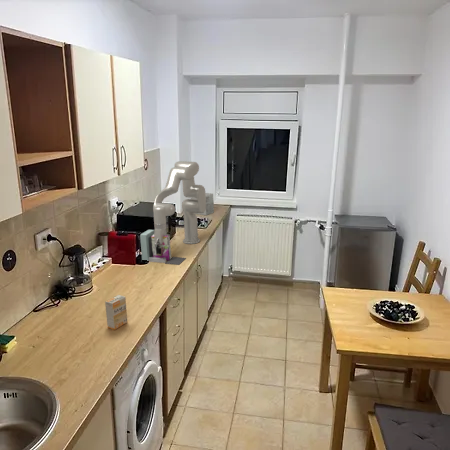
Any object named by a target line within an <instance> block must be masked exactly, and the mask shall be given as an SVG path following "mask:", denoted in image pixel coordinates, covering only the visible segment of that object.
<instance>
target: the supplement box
mask: <svg viewBox="0 0 450 450" xmlns="http://www.w3.org/2000/svg"><path fill="white" fill-rule="evenodd" d="M126 299H127V298H126V296H125V295H120V294H117V295H115V296H113V297H111V298H109V299H107V300H105V301H104V305H105V306H104V307H105V315H106V323H107V328H108V329H111V330H113V331H115V330H117V329H119V328H120V327H122V326H123V325H124V326H125V324H127V323H128V313H127V301H126Z"/></svg>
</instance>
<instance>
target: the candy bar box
mask: <svg viewBox="0 0 450 450" xmlns="http://www.w3.org/2000/svg"><path fill="white" fill-rule="evenodd" d="M170 238H171V237H170V234H168V233H167V234H166V235H165V236H163V244H161V247H160V248H161V254H156V247H155V243H154V235H152V236H151V242H152V252H153V258H164V257H165V258H166V261H168V260H170V259H171V258H172V249H171V239H170Z"/></svg>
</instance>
